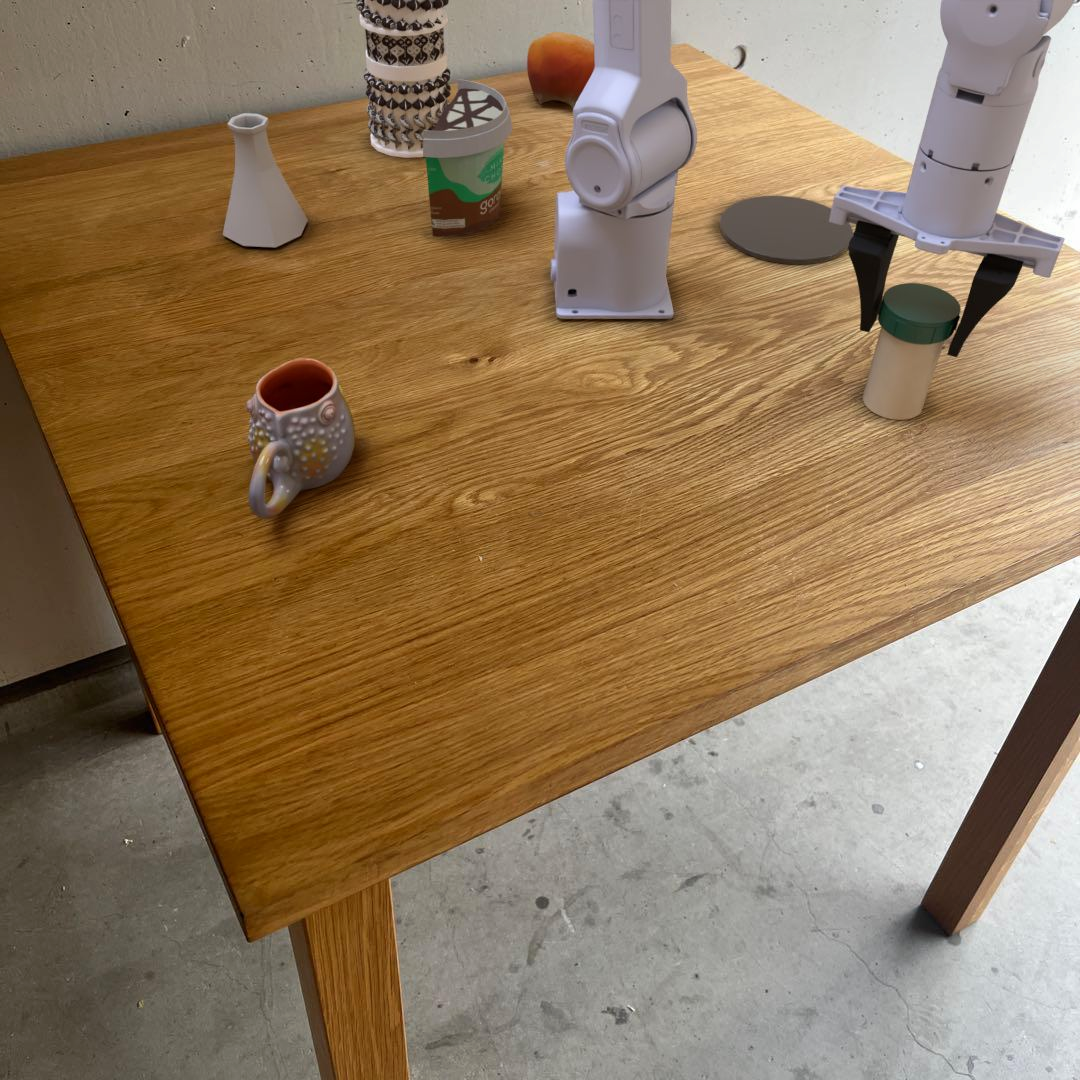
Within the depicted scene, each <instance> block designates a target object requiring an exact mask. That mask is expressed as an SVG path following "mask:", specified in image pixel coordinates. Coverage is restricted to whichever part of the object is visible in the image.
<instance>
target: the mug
mask: <svg viewBox="0 0 1080 1080" xmlns="http://www.w3.org/2000/svg"><path fill="white" fill-rule="evenodd" d="M245 409H246V411H247V412H248V413H250V416H251V417H250V419H249V421H248V422H249V430H248V432H249V434H248V436H247V440H248V442H249V449H250V453H251V456H252V459H253V460H254V463H255V465H254V467H253V469H252V473H251V478H250V482H249V487H248V505H249V509H250V510H251V512H252V513H253V515H255V516H256V517H257V518H259V519H262V520H271V519H273V518H275V517H277V516H278V515H280V514H281V513H282V512H283V511H285V509H286V508H287V507H288V506H289V505H290V504H291V503H292V502H293V500H294V499H295V498H296V497H297V496H298V494H300V492H302V491H305V490H310V489H314V488H318V487H322V486H325V485H326V484H328V483H331V482H332V481H334V480H335V479H336V478H338V477H339V476H340V475H341V474H342V473H343V472H344V470H346V468H347V466H348V465H349V463H350V461H351V459H352V456H353V454H354V450H355V446H356V433H355V424H354V418H353V414H352V412H351V407H350V406H349V403H348V401H347V399H346V395H345V391H344V389H343V387H342V386H341V385H340V384H339V380H338V377H337V374H336V373H335V371H334V370H333V369H332V368H331V367H330V366H329V365H328V364H326V363H325V362H322V361H320V360H318V359H315V358H311V357H300V358H296V359H292V360H291V359H290V360H289V361H285V362H284V363H282V364H280V365H278V366H276V367H275V368H273V369H271V370H270V371H268V372H267V373H265V374H264V375H263V376H262V377H260V378H259V380H258V382H257V383H256V385H255V393H254V394H253V395H252V396H251V398H250V399H248V400H247V401H246V403H245ZM267 480H268V481H270V483H272V485H273V492H272V495H271V497H270V499H269V500H268V501H267V503H266V495H265V494H266V493H265V492H266V482H267Z"/></svg>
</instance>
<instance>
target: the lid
mask: <svg viewBox="0 0 1080 1080" xmlns="http://www.w3.org/2000/svg"><path fill="white" fill-rule="evenodd" d="M961 309H962V308H961V304H960V302H959V300H958V299H957V298H956V297H955V296H954V295H952V294H951V293H949V292H948V291H946V290H944V289H942V288H940V287H936V286H933V285H930V284H925V283H916V282H907V283H900V284H896V285H893V286H891V287H889V288H887V289H886V290H885V291H884V293H883V298H882V300H881V302H880V306H879V310H878V313H877V314H878V317H877V321H878V323H879V325H880V328H881V327H882V328H883V329H884V330H885V331H886V332H888V333H889V334H891V335H893V336H895V337H897V338H899V339H901V340H905V341H908V342H913V343H920V344H932V343H938V342H942V341H944V342H946V341H947V340H949V339H950V338H951V337H952V336H953V334H955V331H956V330H957V328H958V326H959V322H960V318H961V315H960V314H961V312H962V311H961Z"/></svg>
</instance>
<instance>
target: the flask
mask: <svg viewBox="0 0 1080 1080" xmlns="http://www.w3.org/2000/svg"><path fill="white" fill-rule="evenodd" d="M268 125H269V117H267V116H265V115H262V114H259V113H249V112H247V113H246V112H243V113H240V114H237V115H235V116H232V117H230V119H229V120H228V122H227V128H228V130H229V131H231V132H232V135H233V142H234V171H233V177H232V185H231V190H230V196H229V201H228V205H227V210H226V215H225V220H224V226H223V231H222V236H224V237H225V238H228V239H229V240H231V241H233V242H235V243H236V244H239V245H240V246H241V247H242V246H243V247H258V248H259V247H260V248H278V247H280V246H282V245H284V244H286V243H289V242H291V241H293V240H295V239H297V238H299V237H300V236H302V234H303V231H304V229H305V228H306V225H307V223H308V221H309V219H308V218H307V216H306V214H305V212H304V210H303V208H302V207H301V205H300V203H299V201H297V198H296V197H295V195H294V194H293V192H292V190H291V188H290V186H289V185H288V183H287V181H286V179H285V178H284V175H283V174H282V172H281V170H280V168H279V166H278V164H277V162H276V160H275V157H274V153H273V151H272V149H271V145H270V143H269V139H268V132H267V127H268Z"/></svg>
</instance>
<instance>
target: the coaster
mask: <svg viewBox="0 0 1080 1080" xmlns="http://www.w3.org/2000/svg"><path fill="white" fill-rule="evenodd" d="M831 209H832V207H830V206H827V205H824V204H822V203H819V202H816V201H812V200H809V199H805V198H801V197H794V196H786V195H761V196H754V197H748V198H745V199H742V200H738V201H736V202H734V203H732V204H731V205H730V206H728V207H726V208H725V209H724V211H723V212H722V213H721V214H720V218H719V226H718V228H719V231H720V235H721V236H722V238H723V239H724V240H725V241H726V242H727V243H728V244H729V246H732V248H734V249H736V250H737V251H739V252H741V253H743V254H745V255H748V256H750V257H752V258H756V259H759V260H762V261H766V262H771V263H776V264H784V265H813V264H819V263H825V262H827V261H830V260H831V261H832V260H833V259H836V258H838V257H839V256H841V255H843V254H844V253H845V252H846V251H848V250H849V249H848V248H849V241H850V240H851V238H852V237H853V234H854V230H853V227H852V226H851V223H848V222H846V224H845V225H837V224H833V223H829V218H830V214H831Z"/></svg>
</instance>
